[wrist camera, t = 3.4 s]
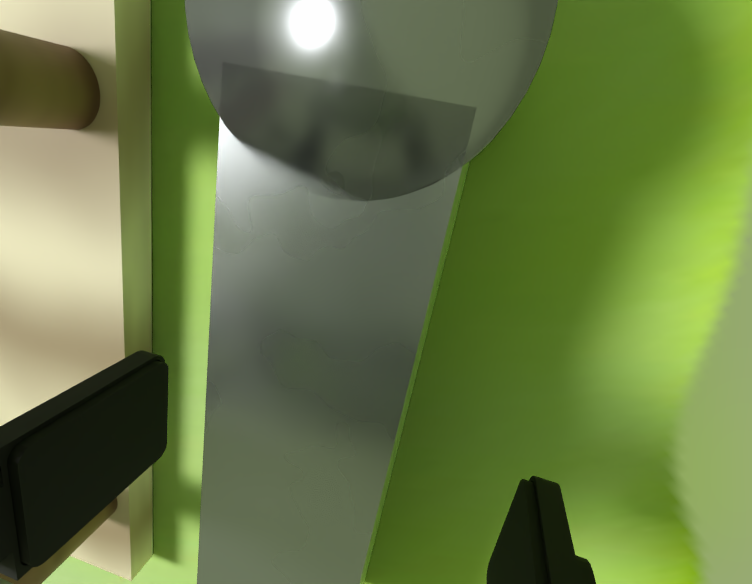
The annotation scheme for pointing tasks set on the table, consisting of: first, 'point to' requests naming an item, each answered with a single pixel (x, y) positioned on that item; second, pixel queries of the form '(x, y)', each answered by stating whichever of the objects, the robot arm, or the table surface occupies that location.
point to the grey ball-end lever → (333, 253)
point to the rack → (76, 227)
